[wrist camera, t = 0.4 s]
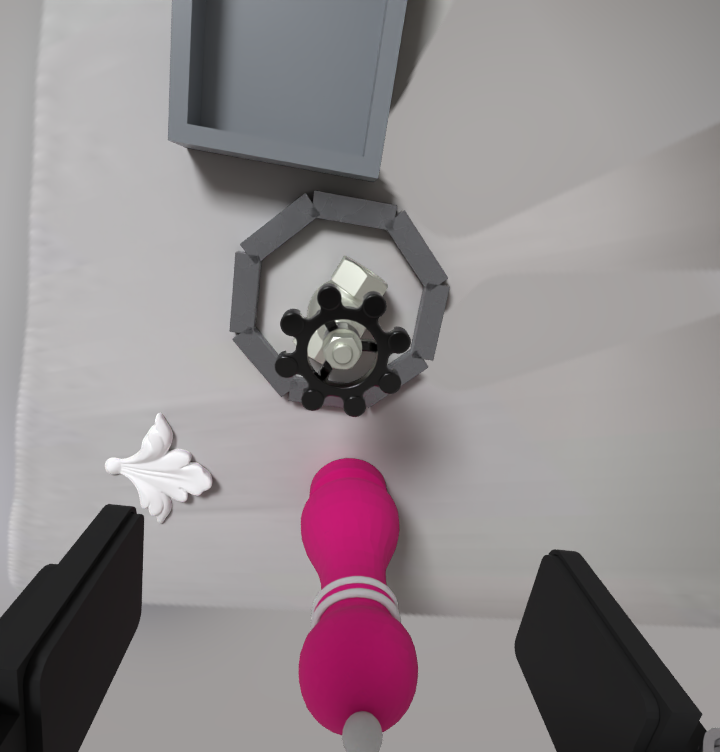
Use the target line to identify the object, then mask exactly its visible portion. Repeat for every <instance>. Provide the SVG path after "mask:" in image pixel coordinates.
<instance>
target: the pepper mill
mask: <svg viewBox="0 0 720 752" xmlns="http://www.w3.org/2000/svg"><path fill="white" fill-rule="evenodd" d="M301 535H302V541H303V544H304V547H305V550H306V553H307V556H308V558H309V559H310V561H311V563H312V564H313V566H314V568H315V570H316V571H317V573H318V575H319V578H320V582H321V591H320V592H319V593H318V595H317V596H316V598H315V600H314V602H313V605H312V610H311V616H312V619H311V631H310V633H309V634H308V635H307V637H306V640H305V642H304V645H303V648H302V651H301V653H300V661H299V683H300V687H301V693H302V696H303V699H304V701H305V703H306V706H307V708H308V710H309V711H310V712H311V714H312V715H313V717H314V718H315V719H316V720H317V721H318V722H319V723H320V724H321V725H322V726H324V727H325V728H327V729H328V730H330V731H332V732H334V733H337V734H340V735H342V740H343V746H344V748H345V750H346V752H379V750H380V747H381V744H382V736H383V734H382V732H384V731H386V730H387V729H389V728H390V727H392V726H393V725H394V724H396V723H397V722H398V721H399V720H400V719H401V718H402V716H403V715H404V714H405V713H406V711H407V710H408V708H409V706H410V704H411V702H412V700H413V697H414V694H415V691H416V685H417V678H418V664H417V657H416V651H415V647H414V645H413V642H412V639H411V637H410V635H409V633H408V632H407V630H406V629H405V628H404V627H403V625H402V624H401V618H400V614H399V608H398V601H397V599H396V597H395V595H394V593H393V592H392V590H391V589H390V588H389V587H388V586H387V585H386V574H385V572H386V568H387V566H388V564H389V562H390V560H391V558H392V556H393V554H394V551H395V549H396V545H397V541H398V536H399V517H398V511H397V508H396V505H395V503H394V501H393V500H392V498H391V496H390V495H389V494H388V493H387V489H386V484H385V481H384V478H383V476H382V475H381V473H380V472H379V471H378V470H377V469H376V468H375V467H374V466H373V465H371V464H369V463H368V462H366V461H363V460H359V459H352V458H344V459H339V460H336V461H333V462H331V463H329V464H327V465H325V466H324V467H323V468H321V469H320V470H319V471H318V473H317V474H316V475H315V477H314V478H313V480H312V483H311V487H310V497H309V499H308V501H307V502H306V504H305V507H304V509H303V512H302V516H301Z"/></svg>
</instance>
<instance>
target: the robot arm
mask: <svg viewBox="0 0 720 752" xmlns="http://www.w3.org/2000/svg"><path fill="white" fill-rule="evenodd" d="M143 541H144V516H143V515H142V514H137V513H136V508H135V507H132V506H122V505H112V504H108V505H106V506H105V507H104V508H103V509H102V510H101V511H100V513H99V514H98V515H97V516H96V518H95V519H94V520H93V521H92V523H91V524H90V525H89V526H88V528H87V529H86V530H85V531H84V532H83V534H82V535H81V536H80V537H79V539H78V540H77V541H76V542H75V544H74V545H73V546H72V547H71V549H70V550H69V551H68V552H67V554H66V555H65V556H64V557H63V559H62V560H61V561H60V562H59V564H49V565H46V566H45V567H44V568H43V569H41V570H40V571H39V573H38V574H37V575H36V576H35V577H34V578H33V580H32V581H31V582H30V583H29V584H28V586H27V587H26V588H25V589H24V590H23V592H22V593H21V594H20V595H19V596H18V598H17V599H16V600H15V601H14V602H13V603H12V605H11V606H10V607H9V609H7V611H6V612H5V613H4V614H3V615H2V617H1V618H0V752H78V751H79V749H80V746H81V745H82V742H83V740H84V738H85V736H86V734H87V732H88V730H89V728H90V726H91V724H92V722H93V720H94V717H95V715H96V713H97V711H98V709H99V707H100V705H101V703H102V701H103V699H104V696H105V694H106V692H107V690H108V688H109V686H110V684H111V682H112V680H113V678H114V676H115V674H116V671H117V669H118V667H119V665H120V663H121V661H122V659H123V657H124V655H125V653H126V650H127V648H128V646H129V644H130V642H131V640H132V638H133V636H134V633H135V632H136V629H137V627H138V624H139V621H140V616H141V606H142V573H143ZM515 654H516V657H517V660H518V662H519V665H520V667H521V669H522V672H523V674H524V677H525V679H526V681H527V683H528V686H529V688H530V690H531V693H532V695H533V697H534V700H535V702H536V704H537V707H538V709H539V711H540V714H541V716H542V718H543V720H544V723H545V725H546V728H547V730H548V732H549V735H550V737H551V739H552V742H553V744H554V746H555V749H556V751H557V752H720V728H712V729H710V730H709V731H706V730H705V728H704V727H703V725H702V724H701V723H700V721H699V720H700V718H701V716H702V713H701V712H700V711H699V709H698V708H697V707H696V705H695V704H694V703H693V701H692V700H691V699H690V697H689V696H688V695H687V693H686V692H685V691H684V690H683V688H682V687H681V686H680V684H679V683H678V682H677V680H676V679H675V678H674V676H673V675H672V674H671V672H670V671H669V670H668V668H667V667H666V666H665V665H664V663H663V662H662V661H661V659H660V658H659V657H658V655H657V654H656V653H655V651H654V650H653V649H652V647H651V646H650V645H649V644H648V642H647V641H646V640H645V638H644V637H643V636H642V634H641V633H640V632H639V630H638V629H637V628H636V626H635V625H634V624H633V623H632V621H631V620H630V619H629V617H628V616H627V615H626V613H625V612H624V611H623V609H622V608H621V607H620V605H619V604H618V603H617V601H616V600H615V599H614V598H613V596H612V595H611V594H610V592H609V591H608V590H607V588H606V587H605V586H604V584H603V583H602V582H601V580H600V579H599V578H598V577H597V575H596V574H595V573H594V571H593V570H592V569H591V567H590V566H589V565H588V563H587V562H586V561H585V559H584V558H583V557H582V556H581V555H580V554H579V553H578V552H575V551H565V550H552V551H551V552H550V553H549V555H545V556H544V557H543V558H542V561H541V564H540V567H539V570H538V573H537V576H536V579H535V582H534V585H533V588H532V591H531V594H530V597H529V600H528V603H527V606H526V609H525V612H524V615H523V618H522V621H521V625H520V627H519V630H518V633H517V636H516V640H515Z"/></svg>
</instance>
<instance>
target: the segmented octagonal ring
mask: <svg viewBox="0 0 720 752" xmlns="http://www.w3.org/2000/svg"><path fill="white" fill-rule="evenodd" d="M396 209H397V205H392V204H387V203H381V202H375V201H370V200H364V199H359V198H353V197H347V196H342V195H336V194H330V193H325V192H319V191H314V198H313V203H312V201H311V200H310V198H309V197H308V195H307V194H306V193H305V194H303V195H302V196H301V197H299V198H298V199H297V200H296V201H294V202H293V203H292V204H291V205H289V206H288V207H287V208H285V209H284V210H283V211H282V212H280V213H279V214H278V215H277V216H275V217H274V218H273V219H271V220H270V221H269V222H268V223H266V224H265V225H264V226H263V227H261V228H260V229H259V230H257V231H256V232H255V233H254V234H252V235H251V236H250V237H249V238H247V239H246V240H245V241H243V242H242V243H241V244H240V245H241V247H242V248H243V249H244V250H245V252H241V251H238V252H236V254H235V267H234V280H233V293H232V306H231V320H230V332H237V333H238V334H237V335H236V336H235V337H234V338H233V339H232V340H233V341H234V342H235V343H236V344H237V346H238V347H239V348H240V349H241V350H242V351H243V353H244V354H245V355H246V356H247V357H248V359H249V360H250V361H251V362H252V363H253V364H254V366H255V367H256V368H257V369H258V370H259V371H260V373H261V374H262V375H263V376H264V377H265V378H266V380H267V381H268V382H269V383H270V384H271V385H272V387H273V388H274V389H275V390H276V391H277V393H278V394H279V395H280V396H281V397H282V396H283V395H285V394H286V393H287V392H289V391H290V392H289V400H288V401H295V402H301V397H302V391H303V389H304V388H307V387H308V383H307V381H306V380H305V379H304V377H297V376H296V375H294V376H293V377H291V378H283V377H281V376H279V375H278V374H277V373H276V371H275V362H276V359H277V357H278V353H277V352H276V351H275V350H274V349H273V347H272V346H271V345H270V344H269V343H268V341H267V340H266V339H265V338H264V336H263V335H262V334H261V333H260V332H259V330H258V329H257V328H256V327H255V326H256V316H257V305H258V295H259V284H260V273H261V263H262V259H264V258H265V257H266V256H268V255H269V254H270V253H271V252H273V251H274V250H275V249H277V248H278V247H279V246H281V245H282V244H283V243H284V242H286V241H287V240H288V239H290V238H291V237H292V236H293V235H295V234H296V233H297V232H299V231H300V230H301V229H303V228H304V227H305V226H306V225H308V224H309V223H310V222H312V221H313V220H314V219H315V218H321V219H327V220H333V221H338V222H344V223H350V224H356V225H362V226H368V227H373V228H379V229H385V230H387V232H388V233H389V235H390V236H391V238H392V239H393V241H394V242H395V244H396V245H397V247H398V248H399V250H400V251H401V253H402V254H403V256H404V257H405V259H406V260H407V262H408V263H409V265H410V266H411V268H412V269H413V271H414V272H415V274H416V275H417V277H418V278H419V280H420V281H421V283H422V284H423V291H422V296H421V301H420V306H419V310H418V315H417V320H416V325H415V330H414V335H413V339H412V344H411V349H410V350H409V351H407V352H406V353H404V354H403V355H401V356H400V357H398V358H397V359H396V360H394V361H393V362H391V363H390V364H388V365H387V367H388V368H389V369H391V370H393V368H394V369H396V370H397V371H398V373H399V376H400V378H401V386H402V385H403V384H405V383H406V382H408V381H409V380H410V379H412V378H413V377H415V376H416V375H418V374H419V373H421V372H422V371H424V370H425V369H427V368H428V366H427V364H426V363H425V361H424V360H423V359H426V360H433V359H434V354H435V350H436V346H437V341H438V337H439V332H440V328H441V323H442V319H443V314H444V310H445V306H446V301H447V297H448V292H449V288H450V287H449V286H448V285H446V284H441V283H442V282H444V281H445V280H447V279H448V277H447V275H446V274H445V272H444V271H443V269H442V268H441V266H440V265H439V263H438V261H437V260H436V258H435V257H434V255H433V254H432V252H431V251H430V249H429V247H428V246H427V244H426V243H425V241H424V240H423V238H422V237H421V235H420V233H419V232H418V230H417V229H416V227H415V226H414V224H413V223H412V221H411V219H410V218H409V216H408V215H407V213H406V212H405V211H404V210H403V211H401V212H400V213H399V214H397V215H396ZM395 215H396V216H395ZM332 382H333V381H332ZM335 383H341V382H335ZM387 395H388V394H387V393H384V392H383V391H381V389H380V388H379V387H376V386H374V387H371V388H370V389H368V390H367V391H365V392H364V394H363V397H365V402H366V406H367V407H368V408H369V407H371V406H372V405H374V404H375V403H377V402H378V401H380V400H381V399H383V398H384V397H386V396H387ZM323 405H326V406H333V407H341V408H343V400H342V399H341V398H339V397H334V396H328V397H326V398H325V400H324V404H323Z"/></svg>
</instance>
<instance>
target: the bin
mask: <svg viewBox="0 0 720 752" xmlns="http://www.w3.org/2000/svg"><path fill="white" fill-rule="evenodd" d="M406 6H407V0H172V18H171V53H170V88H169V123H168V140H169V141H171V142H174V143H176V144H178V145H181V146H183V147H186V148H190V149H196V150H201V151H207V152H212V153H218V154H223V155H229V156H234V157H240V158H245V159H251V160H256V161H262V162H267V163H273V164H278V165H284V166H289V167H294V168H300V169H305V170H311V171H316V172H322V173H327V174H333V175H338V176H344V177H349V178H355V179H360V180H366V181H371V182H374V181H375V180H377V179H378V177H379V171H380V165H381V158H382V152H383V146H384V140H385V134H386V128H387V122H388V116H389V110H390V104H391V98H392V91H393V85H394V79H395V73H396V67H397V61H398V55H399V49H400V43H401V36H402V30H403V24H404V18H405V12H406Z"/></svg>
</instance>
